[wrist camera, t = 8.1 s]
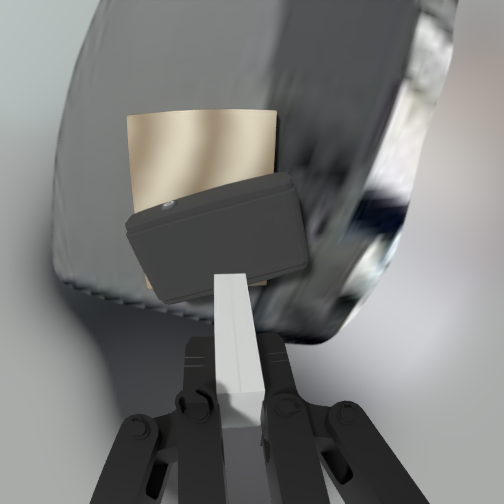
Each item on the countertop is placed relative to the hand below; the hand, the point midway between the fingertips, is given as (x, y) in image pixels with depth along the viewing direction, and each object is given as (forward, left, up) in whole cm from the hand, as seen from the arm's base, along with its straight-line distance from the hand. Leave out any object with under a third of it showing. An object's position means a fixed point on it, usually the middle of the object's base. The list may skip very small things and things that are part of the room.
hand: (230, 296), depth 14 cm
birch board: (+2, 0, -15) cm, 15 cm away
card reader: (-7, 0, -12) cm, 14 cm away
